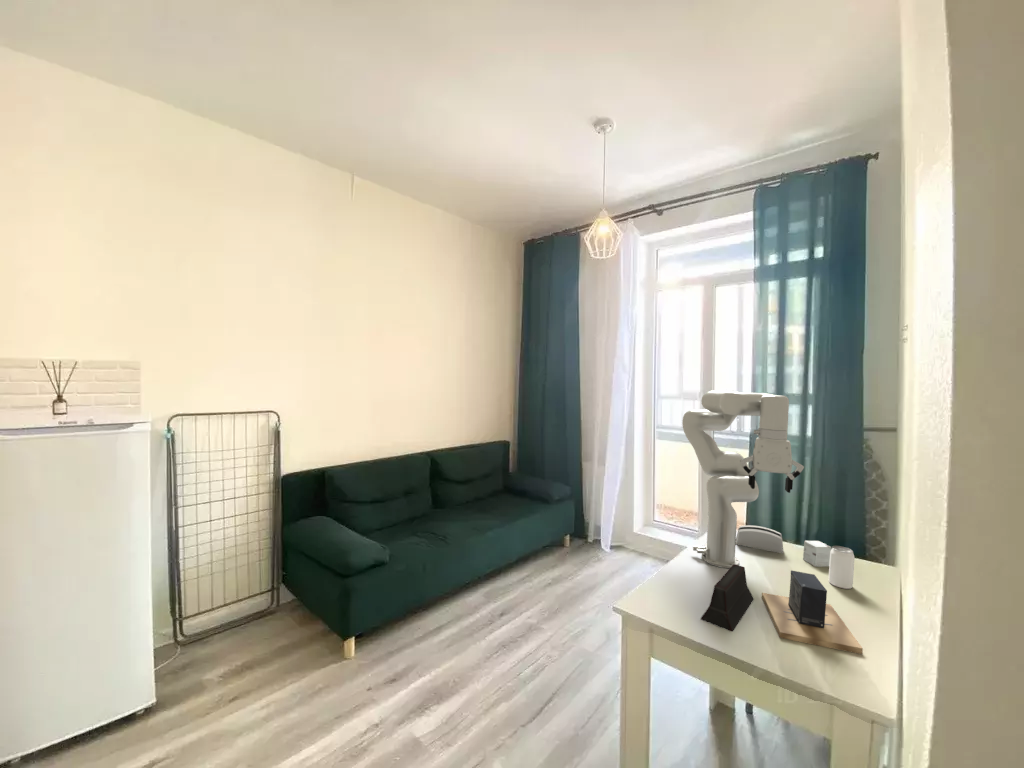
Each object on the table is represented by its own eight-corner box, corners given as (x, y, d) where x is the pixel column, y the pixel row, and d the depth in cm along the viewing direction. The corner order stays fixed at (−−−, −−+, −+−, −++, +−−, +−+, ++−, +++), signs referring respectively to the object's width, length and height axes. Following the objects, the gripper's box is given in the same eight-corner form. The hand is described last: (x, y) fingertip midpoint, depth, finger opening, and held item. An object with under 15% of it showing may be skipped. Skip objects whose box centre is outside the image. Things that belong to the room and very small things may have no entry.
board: (779, 637, 115) (780, 631, 115) (761, 597, 136) (762, 592, 136) (862, 654, 109) (862, 648, 109) (830, 609, 130) (830, 604, 130)
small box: (826, 629, 117) (828, 590, 116) (798, 624, 119) (800, 586, 118) (813, 609, 127) (815, 573, 126) (787, 604, 129) (789, 569, 128)
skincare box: (802, 559, 165) (803, 540, 165) (817, 559, 166) (818, 540, 166) (815, 566, 159) (816, 546, 159) (830, 566, 160) (831, 546, 160)
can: (845, 591, 142) (847, 554, 141) (824, 581, 148) (826, 546, 147) (857, 587, 144) (859, 551, 144) (835, 578, 150) (837, 544, 150)
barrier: (733, 633, 117) (735, 596, 116) (699, 619, 122) (701, 584, 122) (754, 600, 134) (756, 568, 134) (724, 589, 140) (725, 559, 140)
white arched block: (782, 549, 175) (784, 528, 171) (783, 557, 171) (785, 536, 167) (735, 540, 182) (736, 520, 179) (735, 547, 179) (736, 527, 175)
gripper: (743, 434, 135) (740, 489, 135) (809, 438, 129) (805, 496, 130) (739, 431, 142) (736, 483, 142) (801, 435, 136) (798, 490, 137)
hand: (769, 489), depth 136 cm, fingers open, 9 cm apart
